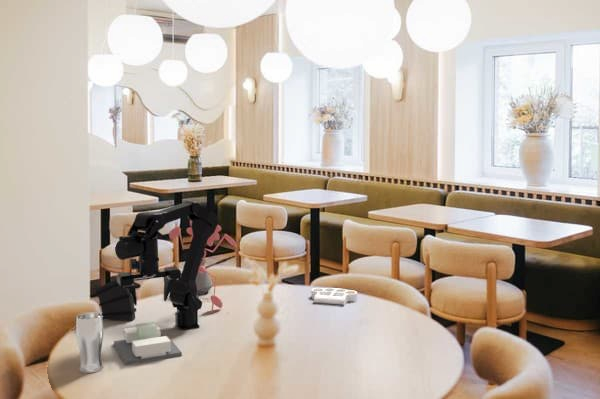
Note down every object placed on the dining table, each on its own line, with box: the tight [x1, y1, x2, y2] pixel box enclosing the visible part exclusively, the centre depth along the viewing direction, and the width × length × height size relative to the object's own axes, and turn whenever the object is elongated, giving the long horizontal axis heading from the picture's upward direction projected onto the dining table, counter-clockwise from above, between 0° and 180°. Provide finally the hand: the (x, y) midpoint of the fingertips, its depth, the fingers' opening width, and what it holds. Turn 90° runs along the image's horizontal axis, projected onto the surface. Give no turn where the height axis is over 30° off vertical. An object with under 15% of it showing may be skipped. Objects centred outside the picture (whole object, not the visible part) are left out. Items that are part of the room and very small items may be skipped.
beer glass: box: [75, 311, 104, 374], centre depth 170 cm, size 7×7×15 cm
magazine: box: [94, 278, 137, 322], centre depth 214 cm, size 4×13×15 cm, turn 82°
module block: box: [135, 321, 157, 340], centre depth 185 cm, size 5×4×6 cm
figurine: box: [168, 219, 238, 315], centre depth 227 cm, size 15×26×35 cm, turn 81°
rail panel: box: [113, 323, 183, 366], centre depth 185 cm, size 16×18×5 cm
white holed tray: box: [310, 287, 358, 306], centre depth 240 cm, size 3×18×15 cm
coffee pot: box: [195, 254, 238, 295], centre depth 249 cm, size 21×12×15 cm, turn 89°
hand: (150, 303), depth 193 cm, fingers open, 9 cm apart
